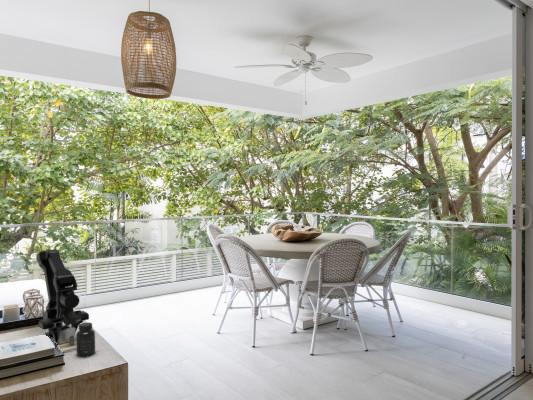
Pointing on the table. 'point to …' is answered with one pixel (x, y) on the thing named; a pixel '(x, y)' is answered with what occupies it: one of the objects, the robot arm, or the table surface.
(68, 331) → the hollow square tube
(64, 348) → the shaft plate
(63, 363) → the table surface
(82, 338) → the supplement bottle
